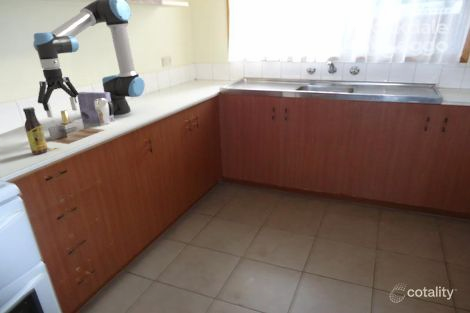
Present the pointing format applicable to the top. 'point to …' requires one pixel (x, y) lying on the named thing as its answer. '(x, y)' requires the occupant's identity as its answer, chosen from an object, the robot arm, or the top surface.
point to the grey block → (71, 124)
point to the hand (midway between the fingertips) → (63, 113)
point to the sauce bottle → (34, 132)
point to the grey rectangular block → (59, 131)
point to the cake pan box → (88, 105)
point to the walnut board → (77, 136)
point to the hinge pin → (65, 117)
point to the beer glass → (102, 110)
